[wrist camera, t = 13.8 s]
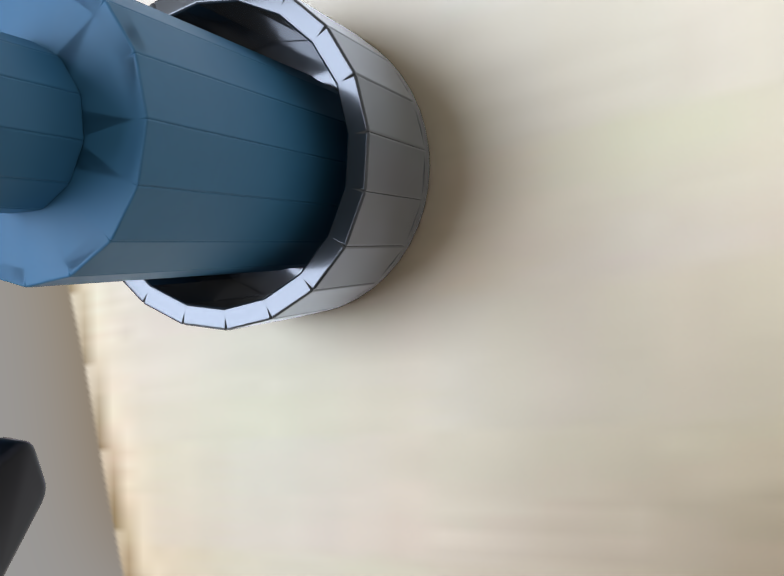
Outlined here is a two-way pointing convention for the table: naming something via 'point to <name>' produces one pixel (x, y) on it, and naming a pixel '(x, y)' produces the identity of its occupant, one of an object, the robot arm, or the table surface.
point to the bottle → (155, 149)
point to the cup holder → (363, 171)
